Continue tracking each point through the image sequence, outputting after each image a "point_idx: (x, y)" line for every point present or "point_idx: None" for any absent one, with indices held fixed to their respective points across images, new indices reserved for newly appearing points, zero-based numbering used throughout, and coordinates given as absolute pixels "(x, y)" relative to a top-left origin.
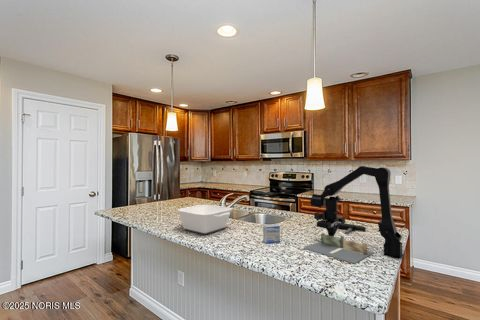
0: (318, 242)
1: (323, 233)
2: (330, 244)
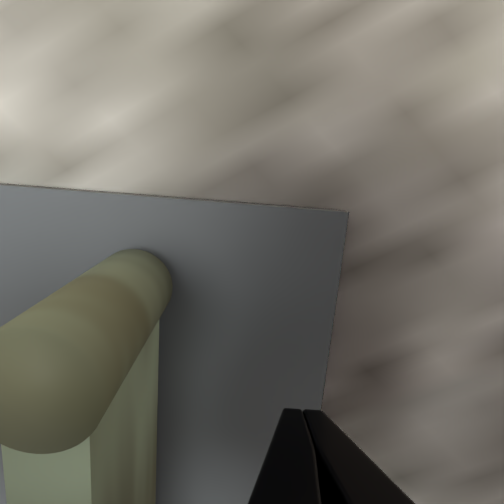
0: (88, 207)
1: (102, 388)
2: (158, 418)
